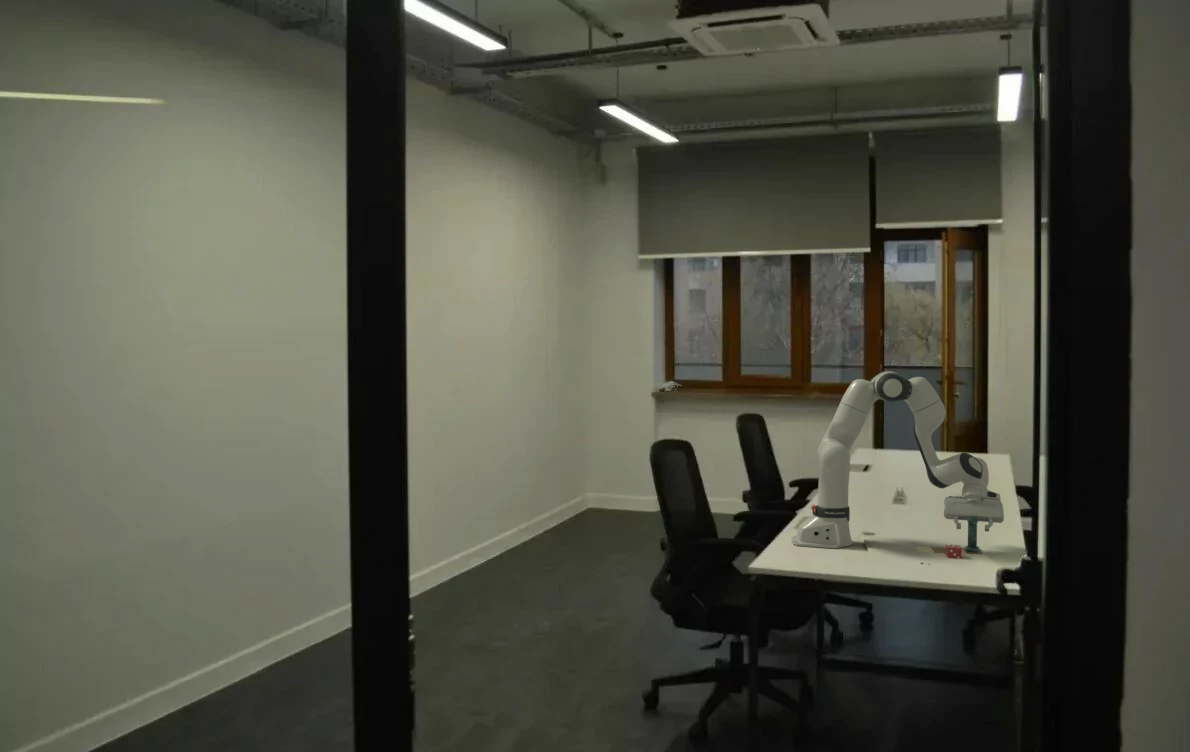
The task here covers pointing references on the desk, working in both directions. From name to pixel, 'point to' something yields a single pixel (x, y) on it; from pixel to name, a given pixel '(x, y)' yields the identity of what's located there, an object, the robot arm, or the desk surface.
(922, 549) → the board
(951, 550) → the die
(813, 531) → the robot arm
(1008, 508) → the desk surface
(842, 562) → the desk surface
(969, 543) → the pawn
